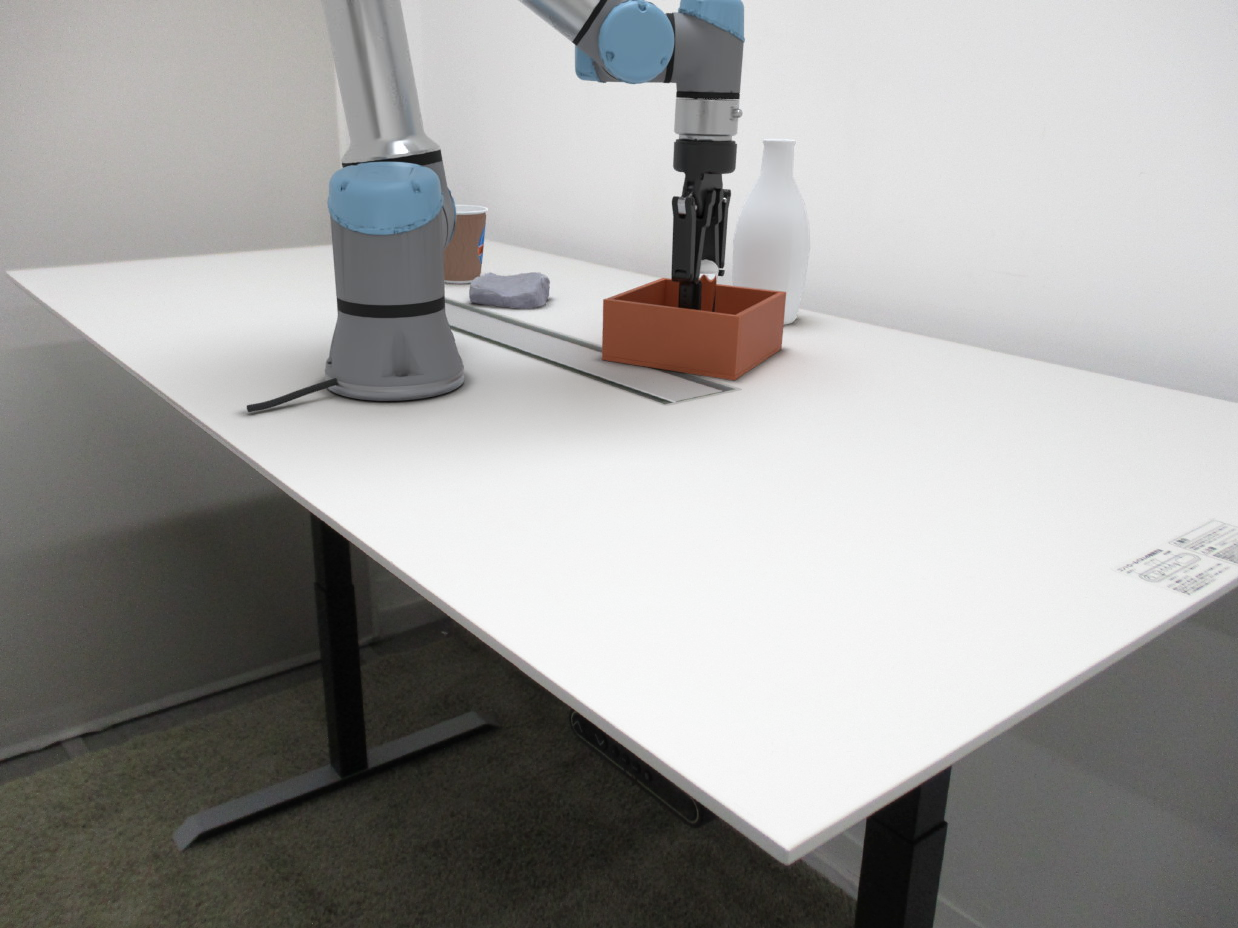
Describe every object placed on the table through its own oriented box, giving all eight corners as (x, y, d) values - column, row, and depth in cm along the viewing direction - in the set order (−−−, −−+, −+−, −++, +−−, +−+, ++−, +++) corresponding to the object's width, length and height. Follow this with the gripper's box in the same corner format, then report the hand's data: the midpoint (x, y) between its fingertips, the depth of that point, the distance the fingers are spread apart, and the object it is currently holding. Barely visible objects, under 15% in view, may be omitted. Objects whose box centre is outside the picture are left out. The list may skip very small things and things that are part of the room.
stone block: (542, 320, 152) (552, 295, 161) (540, 291, 150) (550, 266, 158) (465, 319, 154) (479, 294, 162) (461, 290, 151) (476, 265, 159)
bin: (734, 380, 118) (739, 317, 115) (601, 360, 125) (603, 299, 123) (781, 349, 133) (786, 291, 130) (660, 332, 140) (662, 277, 138)
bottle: (746, 308, 157) (758, 136, 148) (814, 317, 152) (831, 140, 143) (715, 320, 148) (726, 139, 139) (786, 331, 143) (802, 143, 134)
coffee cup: (496, 284, 170) (495, 211, 166) (435, 287, 166) (432, 212, 162) (481, 273, 179) (479, 204, 174) (423, 275, 175) (420, 205, 171)
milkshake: (686, 325, 132) (692, 248, 128) (720, 332, 128) (727, 253, 125) (665, 330, 128) (670, 251, 125) (700, 338, 125) (706, 257, 122)
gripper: (707, 142, 111) (696, 348, 119) (759, 137, 125) (746, 321, 134) (646, 139, 114) (639, 340, 122) (703, 134, 129) (694, 314, 137)
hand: (695, 330), depth 128 cm, fingers closed on milkshake, 4 cm apart
